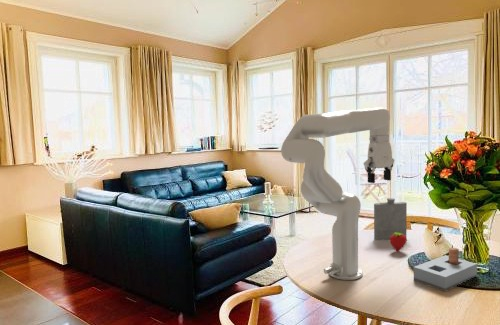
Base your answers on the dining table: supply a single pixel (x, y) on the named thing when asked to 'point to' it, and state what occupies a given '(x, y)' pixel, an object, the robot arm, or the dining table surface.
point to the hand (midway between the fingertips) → (379, 181)
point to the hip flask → (389, 219)
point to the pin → (453, 256)
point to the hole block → (444, 273)
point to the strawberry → (398, 241)
